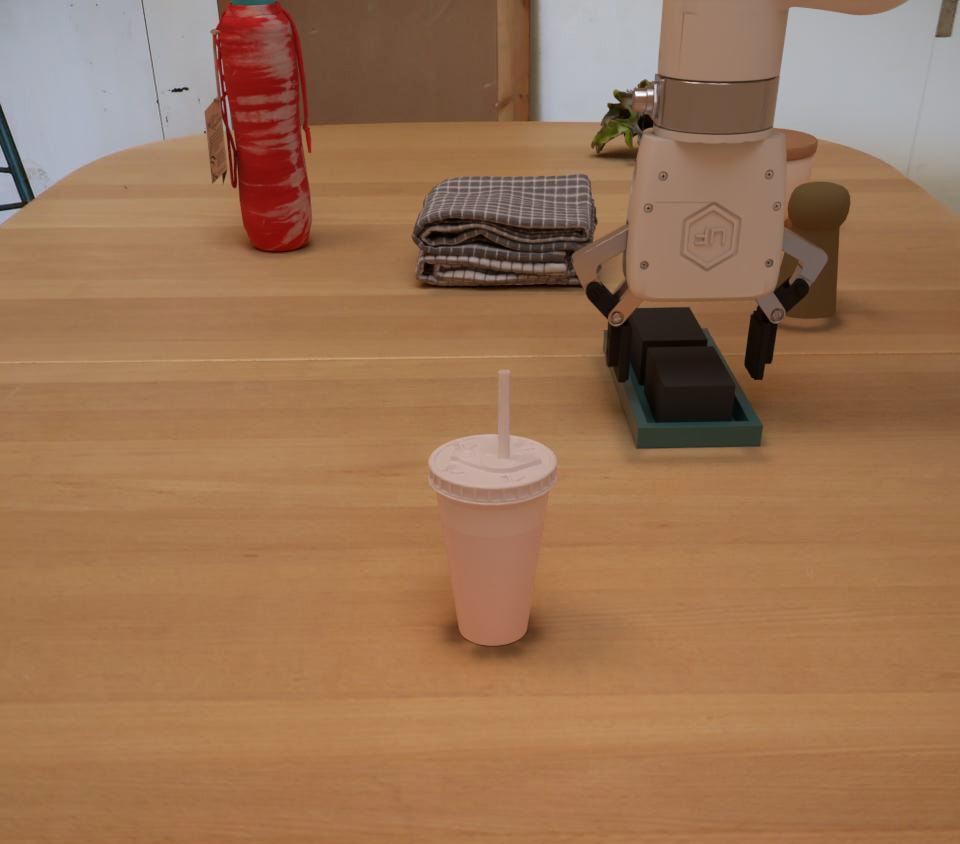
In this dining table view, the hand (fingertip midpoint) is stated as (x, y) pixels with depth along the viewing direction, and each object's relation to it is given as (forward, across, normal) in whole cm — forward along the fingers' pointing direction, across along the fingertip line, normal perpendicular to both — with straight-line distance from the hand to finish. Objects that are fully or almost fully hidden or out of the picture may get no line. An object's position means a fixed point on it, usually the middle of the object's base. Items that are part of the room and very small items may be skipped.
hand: (686, 374), depth 81 cm
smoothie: (+4, -15, -28) cm, 32 cm away
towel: (+4, -11, +40) cm, 42 cm away
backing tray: (+3, 0, +4) cm, 5 cm away
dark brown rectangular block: (+3, 0, +10) cm, 10 cm away
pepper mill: (+4, +15, +24) cm, 29 cm away
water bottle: (+4, -37, +51) cm, 63 cm away
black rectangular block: (+3, 0, 0) cm, 3 cm away
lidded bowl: (+4, +17, +56) cm, 59 cm away
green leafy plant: (+4, +10, +96) cm, 97 cm away
